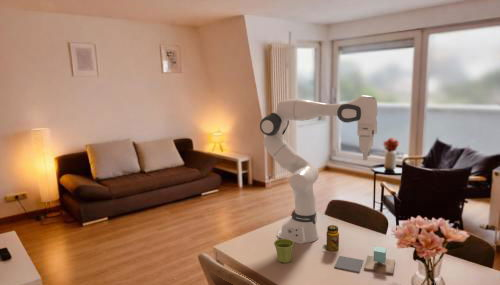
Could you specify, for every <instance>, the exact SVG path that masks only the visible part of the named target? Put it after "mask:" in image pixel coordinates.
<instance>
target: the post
mask: <svg viewBox="0 0 500 285" xmlns="http://www.w3.org/2000/svg"><path fill="white" fill-rule="evenodd" d="M395 261H396V260H395V259H391V258H390V259H389V258H386V260H385V263H381V262H375V261H374V255H367V257H366V260H365V262H364V266H363V271H364V270H365V271H369V272H372V273H373V272H374V273H379V274H385V275H390V276H393V275H394V269H395Z"/></svg>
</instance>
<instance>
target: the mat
mask: <svg viewBox="0 0 500 285" xmlns="http://www.w3.org/2000/svg"><path fill="white" fill-rule="evenodd" d="M363 262H364V259H361V258H360V259H358V258H353V257H347V256H342V255H338V257H337V260H336V262H335V264H334V266H333V268H334V269H338V270H343V271H347V272H352V273H358V274H360V272H361V269H362V265H363Z"/></svg>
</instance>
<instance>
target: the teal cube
mask: <svg viewBox="0 0 500 285" xmlns="http://www.w3.org/2000/svg"><path fill="white" fill-rule="evenodd" d="M373 256H374V261H375V262H381V263H385V260H386V259H387V247H382V246H374V249H373Z"/></svg>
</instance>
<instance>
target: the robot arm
mask: <svg viewBox="0 0 500 285" xmlns="http://www.w3.org/2000/svg"><path fill="white" fill-rule="evenodd" d="M325 116H327V117H338V119H339V121H341V122H342V123H347V124H350V123H353V122H357V130H356V132H357V136H358V145H359V151H360V152H361V153H362V158H363V161H367V160H368V157H370V155H371V149H372V147H373V145H374V137H375V135H376V134H378V121H377V117H378V101H377V98H375V97H374V96H372V95H366V94H361V95H359V96H358V97H357V98H354V99H352V100H350V101H349V100H348V101H347V102H345V103H323V102H318V101H313V100H308V99H302V98H299V99H298V98H290V99H288V98H287V99H284V100H280V101H279V102H278V103H277V105H276V111H275V112H272V113H270V114H267V115H266V116H264V117H263V118H262V119H261V120H260V123H259V129H260V131H261V132H262V134H264V135H265V137H264V139H263V141H262V142H263V146H264V147H265V149H266V150H267V152H268V154H269V156H271V157H272V158H273V159H274V160H275V162H276V163H277V164H278V165H279V166H280V167H281V168H282V169H284V170H287V172H289V173H291V175H290V176H291V177H290V179H289V185H290V188H291V189H292V191H293V192H292V193H293V196H294V198H293V199H294V209H293V210H292V212H291V213H290V218H288V219H287V220H285V221H284V222H283V223H282V225H281V228H280V229H279V230H278V232H277V234H276V235H277V238H278V239H289V240H292V241H293V242H294V243H296V244H299V245H301V244H306V243H311V242H315V241H317V240H318V239H319V237H320V236H319V232H318V229H317V228H318V227H317V217H318V216H317V215H318V214H317V211H316V207H317V206H316V203H317V202H316V201H317V200H316V197H315V195H314V187H313V186H314V184H315V183H316V182H317V181H318V178H319V169H318V167H317V166H315V165H314V164H311V163H309V161H308V160H306V159H304V158H303V157H302V156H301V155H299V154H298V153H297V151H296V150H295V149H293V148H292V147H291V145H290V144H288V142H287V141H286V140H285V138H283V136H284V134H285V133H286V131H287V129H288V127H289V124H290V121H300V122H301V121H302V122H303V121H310V120H313V119H316V118H321V117H325Z"/></svg>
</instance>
